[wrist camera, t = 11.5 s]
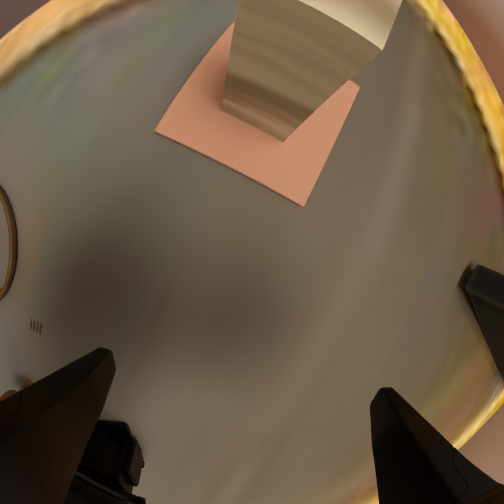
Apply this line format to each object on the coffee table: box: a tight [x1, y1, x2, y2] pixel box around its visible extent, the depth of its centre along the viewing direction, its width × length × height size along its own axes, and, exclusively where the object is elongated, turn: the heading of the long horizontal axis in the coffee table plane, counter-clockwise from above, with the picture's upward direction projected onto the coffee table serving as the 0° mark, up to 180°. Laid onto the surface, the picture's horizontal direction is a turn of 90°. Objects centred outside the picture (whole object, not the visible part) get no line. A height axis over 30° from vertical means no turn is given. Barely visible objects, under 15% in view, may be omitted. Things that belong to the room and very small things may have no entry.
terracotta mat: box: [155, 21, 360, 207], centre depth 19 cm, size 12×12×1 cm
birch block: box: [221, 0, 402, 143], centre depth 12 cm, size 5×5×13 cm
